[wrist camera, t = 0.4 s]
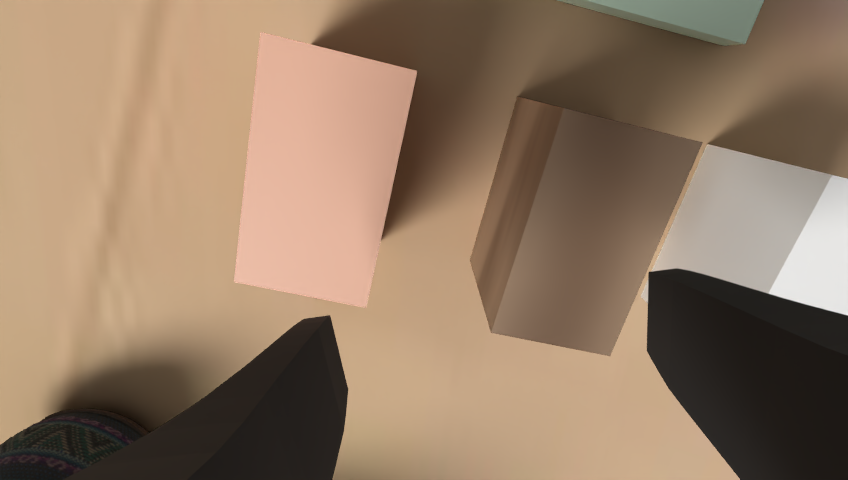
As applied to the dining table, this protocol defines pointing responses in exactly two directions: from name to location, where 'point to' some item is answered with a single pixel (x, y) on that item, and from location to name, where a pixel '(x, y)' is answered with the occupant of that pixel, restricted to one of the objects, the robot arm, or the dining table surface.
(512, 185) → the walnut brick
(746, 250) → the pale grey brick
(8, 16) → the dining table surface
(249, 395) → the robot arm
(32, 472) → the mate gourd
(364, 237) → the terracotta brick
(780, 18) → the dining table surface
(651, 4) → the sage green board
